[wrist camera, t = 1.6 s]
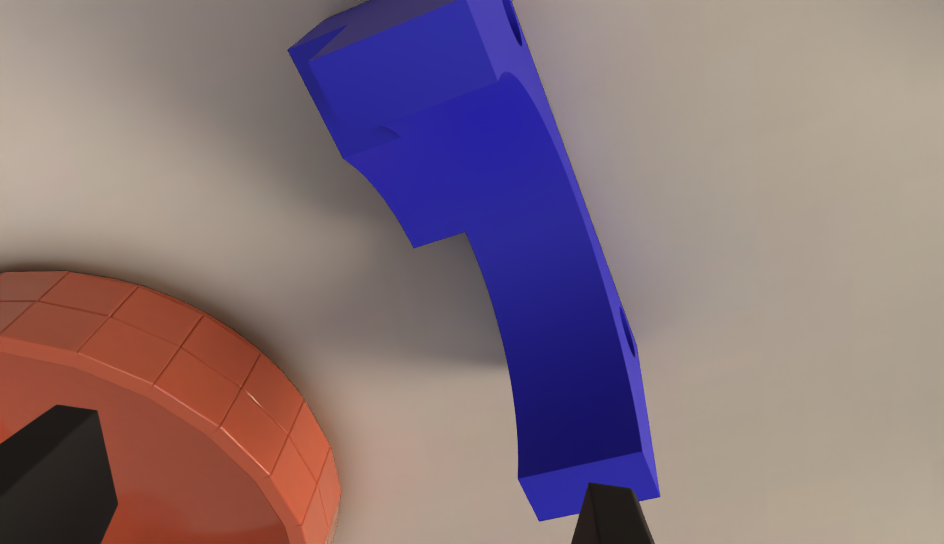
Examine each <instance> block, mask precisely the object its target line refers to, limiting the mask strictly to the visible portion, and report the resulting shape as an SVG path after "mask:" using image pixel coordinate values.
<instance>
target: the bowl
mask: <svg viewBox="0 0 944 544" xmlns="http://www.w3.org/2000/svg"><path fill="white" fill-rule="evenodd" d="M56 404H58V405H65V406H72V407H78V408H85V409H92V410H98V415H99V419H100V424H101V428H102V433H103V437H104V442H105V446H106V451H107V455H108V460H109V464H110V469H111V473H112V478H113V482H114V487H115V491H116V496H117V500H118V506H117V508H116V511H115V513H114V515H113V517H112V520H111V522H110V524H109V527H108V529H107V531H106V533H105V536H104V538H103V540H102V542H101V544H332V541H333V538H334V535H335V532H336V526H337V519H338V511H339V504H340V497H341V493H340V492H341V489H340V484H339V480H338V475H337V471H336V466H335V462H334V458H333V453H332V449H331V447H330V444H329V442H328V440H327V439H326V437H325V435H324V433H323V432H322V430H321V428H320V426H319V425H318V423H317V420H316V418H315V416H314V414H313V412H312V411H311V409H310V408H309V406H308V405H307V403H306V402H305V400H304V398H303V397H302V396H301V394H300V393H299V391H298V390H297V389H296V388H295V386H294V385H293V384H292V383H291V382H290V380H289V379H288V378H287V377H286V376H285V375H284V373H283V372H282V371H281V370H280V369H279V368H278V367H277V366H276V365H275V364H274V363H273V362H272V361H271V360H270V359H269V358H268V357H266V356H265V355H264V354H263V353H262V352H261V351H260V350H259V349H258V348H257V347H255V346H254V345H253V344H251V343H250V342H249V341H247V340H246V339H245V338H244V337H242V336H241V335H240V334H238V333H237V332H236V331H234V330H233V329H231V328H230V327H228V326H226V325H225V324H223V323H222V322H220V321H218V320H217V319H215V318H214V317H212V316H210V315H209V314H207V313H205V312H203V311H201V310H199V309H197V308H195V307H193V306H191V305H189V304H187V303H185V302H183V301H181V300H179V299H177V298H174V297H171V296H169V295H166V294H164V293H161V292H158V291H156V290H153V289H150V288H148V287H144V286H141V285H137V284H133V283H130V282H126V281H122V280H118V279H114V278H108V277H102V276H95V275H89V274H81V273H75V272H69V271H39V272H6V273H5V272H4V273H0V444H1V443H2V442H3V441H5V440H6V439H8V438H9V437H11V436H12V435H13V434H15V433H16V432H18V431H19V430H20V429H22V428H23V427H25V426H26V425H27V424H29V423H30V422H32V421H33V420H35V419H36V418H37V417H39V416H40V415H42V414H43V413H45V412H46V411H48V410H49V409H51V408H52V407H53V406H55V405H56Z"/></svg>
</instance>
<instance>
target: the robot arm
mask: <svg viewBox="0 0 944 544" xmlns="http://www.w3.org/2000/svg"><path fill="white" fill-rule="evenodd" d="M117 506H118V500H117V496H116V491H115V487H114V482H113V478H112V473H111V469H110V464H109V460H108V455H107V451H106V446H105V442H104V437H103V433H102V428H101V424H100V419H99V415H98V410H92V409H85V408H78V407H72V406H65V405H58V404H56V405H55V406H53V407H52V408H51V409H49V410H48V411H46V412H45V413H43V414H42V415H40V416H39V417H37V418H36V419H35V420H33V421H32V422H30V423H29V424H27V425H26V426H25V427H23V428H22V429H20V430H19V431H18V432H16V433H15V434H13V435H12V436H11V437H9V438H8V439H6V440H5V441H3V442H2V443H1V444H0V544H101V542H102V540H103V538H104V536H105V533H106V531H107V529H108V527H109V524H110V522H111V520H112V517H113V515H114V513H115V511H116V508H117ZM571 544H655V543H654V540H653V538H652V535H651V533H650V530H649V528H648V525H647V523H646V520H645V517H644V515H643V512H642V509H641V506H640V504H639V501H638V498H637V495H636V494H635V493H634V491H633V490H632V489H631V488H626V487H619V486H612V485H605V484H598V483H591V482H589V483H588V486H587V490H586V493H585V497H584V500H583V504H582V508H581V511H580V515H579V518H578V522H577V525H576V529H575V532H574V536H573V539H572V543H571Z"/></svg>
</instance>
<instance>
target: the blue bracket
mask: <svg viewBox="0 0 944 544" xmlns="http://www.w3.org/2000/svg"><path fill="white" fill-rule="evenodd" d="M288 52H289V54H290V56H291V58H292V60H293V62H294V64H295V66H296V68H297V70H298V72H299V74H300V75H301V77H302V79H303V81H304V83H305V85H306V87H307V89H308V91H309V93H310V95H311V97H312V99H313V101H314V103H315V105H316V107H317V109H318V111H319V113H320V115H321V116H322V118H323V120H324V122H325V124H326V126H327V128H328V130H329V132H330V134H331V136H332V138H333V140H334V142H335V144H336V146H337V148H338V150H339V152H340V154H341V156H342V157H343V159H344V160H346V161H347V162H349V163H350V164H351V165H352V166H354V167H355V168H356V169H357V170H358V171H359V172H360V173H362V174H363V175H364V176H365V177H366V178H367V179H368V181H369V182H370V183H371V184H372V185H373V186H374V187H375V188H376V190H377V191H378V192H379V193H380V195H381V196H382V197H383V199H384V200H385V201H386V203H387V204H388V206H389V207H390V209H391V210H392V211H393V213H394V215H395V216H396V218H397V219H398V221H399V223H400V224H401V226H402V228H403V229H404V231H405V233H406V235H407V237H408V239H409V240H410V242H411V244H412V246H413V248H416V247H419V246H423V245H426V244H429V243H432V242H435V241H438V240H441V239H444V238H447V237H451V236H454V235H457V234H460V233H463V232H466V235H467V237H468V239H469V242H470V244H471V246H472V249H473V251H474V254H475V256H476V259H477V261H478V264H479V267H480V269H481V272H482V275H483V278H484V280H485V283H486V286H487V289H488V292H489V295H490V298H491V302H492V305H493V308H494V312H495V315H496V319H497V322H498V326H499V330H500V334H501V337H502V341H503V346H504V350H505V355H506V359H507V364H508V369H509V374H510V380H511V386H512V392H513V398H514V406H515V414H516V424H517V437H518V480H519V482H520V484H521V486H522V488H523V490H524V492H525V494H526V496H527V498H528V500H529V502H530V504H531V506H532V508H533V510H534V512H535V514H536V516H537V518H538V520H539V521H544V520H549V519H554V518H559V517H564V516H569V515H574V514H579V513H580V511H581V508H582V504H583V500H584V497H585V493H586V490H587V486H588V483H589V482H591V483H598V484H605V485H612V486H619V487H626V488H631V489H632V490H633V491H634V493H635V494H636V495H637V498H638V501H643V500H648V499H653V498H658V497H660V492H659V486H658V479H657V473H656V466H655V460H654V453H653V447H652V441H651V434H650V428H649V421H648V415H647V408H646V402H645V395H644V389H643V382H642V376H641V369H640V363H639V357H638V350H637V345H636V342H635V340H634V337H633V334H632V331H631V329H630V326H629V323H628V320H627V318H626V315H625V312H624V309H623V307H622V304H621V301H620V298H619V296H618V293H617V290H616V287H615V285H614V282H613V279H612V276H611V274H610V271H609V268H608V265H607V263H606V260H605V257H604V254H603V252H602V249H601V246H600V243H599V241H598V238H597V235H596V232H595V230H594V227H593V224H592V221H591V219H590V216H589V213H588V210H587V208H586V205H585V202H584V199H583V197H582V194H581V191H580V188H579V186H578V183H577V180H576V177H575V175H574V172H573V169H572V166H571V164H570V161H569V158H568V155H567V153H566V150H565V147H564V144H563V142H562V139H561V136H560V133H559V131H558V128H557V125H556V122H555V120H554V117H553V114H552V111H551V109H550V106H549V103H548V100H547V98H546V95H545V92H544V89H543V87H542V84H541V81H540V78H539V76H538V73H537V70H536V67H535V65H534V62H533V59H532V56H531V54H530V51H529V48H528V45H527V43H526V40H525V37H524V34H523V32H522V29H521V26H520V23H519V21H518V18H517V15H516V12H515V10H514V7H513V4H512V1H511V0H369V1H367V2H365V3H362V4H360V5H358V6H355V7H353V8H351V9H348V10H346V11H344V12H341V13H339V14H337V15H334V16H332V17H330V18H327V19H325V20H324V21H322V22H321V23H320V24H319V25H317V26H316V27H315V28H314V29H312V30H311V31H310V32H309V33H308V34H306V35H305V36H304V37H303V38H301V39H300V40H299V41H298V42H297V43H295V44H294V45H293V46H292V47H290V48H289V49H288Z"/></svg>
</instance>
